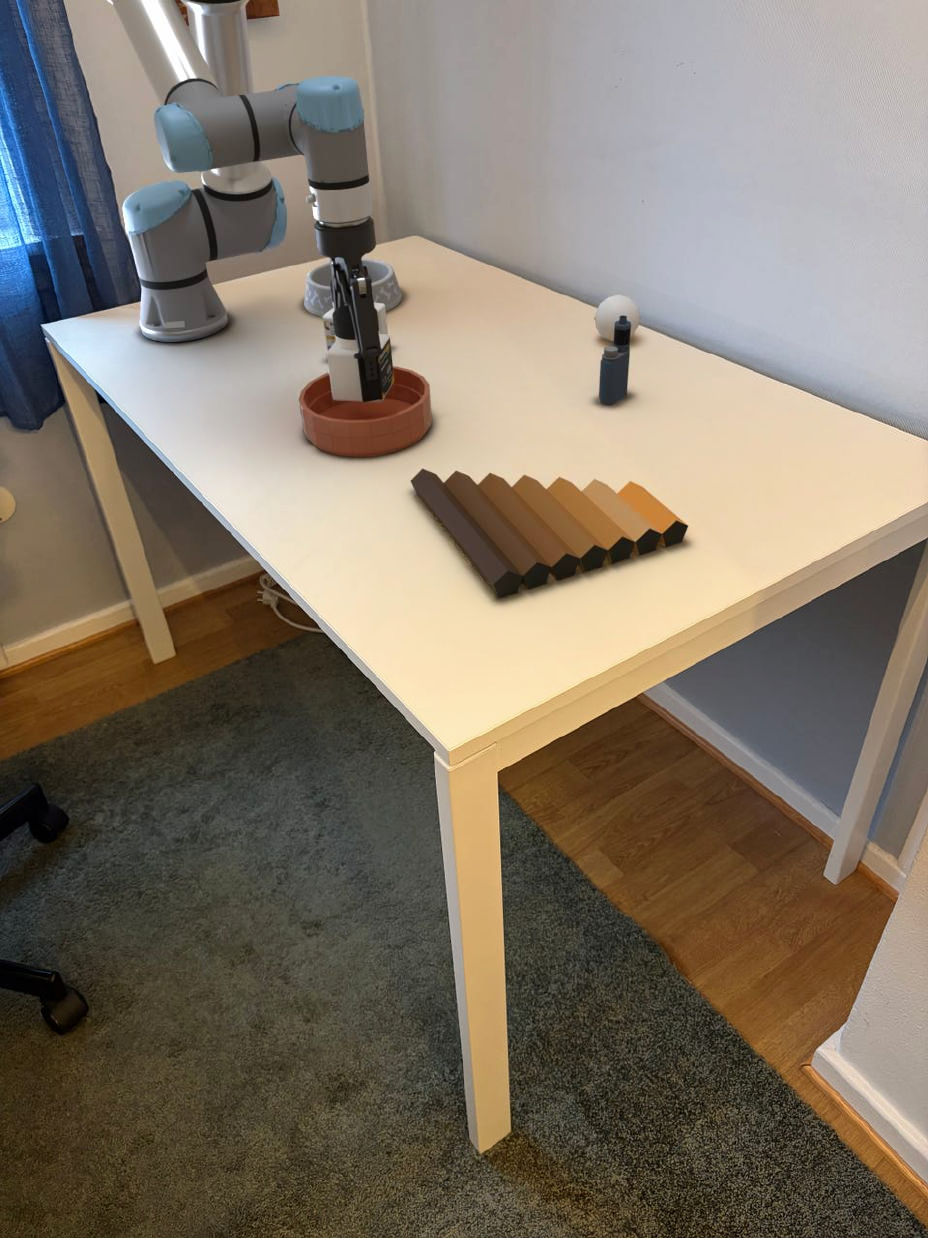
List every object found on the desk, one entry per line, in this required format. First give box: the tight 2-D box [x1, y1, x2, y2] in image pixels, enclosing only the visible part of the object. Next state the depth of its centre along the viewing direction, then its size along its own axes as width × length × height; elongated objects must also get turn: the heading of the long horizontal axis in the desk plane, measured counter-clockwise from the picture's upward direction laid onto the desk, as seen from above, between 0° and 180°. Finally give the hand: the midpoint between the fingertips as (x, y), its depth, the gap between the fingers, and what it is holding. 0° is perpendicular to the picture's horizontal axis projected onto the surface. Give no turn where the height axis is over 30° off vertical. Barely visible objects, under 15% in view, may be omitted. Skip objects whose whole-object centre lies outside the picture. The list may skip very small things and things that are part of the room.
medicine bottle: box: [326, 304, 394, 403], centre depth 131 cm, size 7×7×12 cm
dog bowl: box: [303, 257, 403, 318], centre depth 177 cm, size 17×18×5 cm
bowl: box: [297, 365, 433, 458], centre depth 136 cm, size 18×18×6 cm
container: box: [322, 280, 389, 353], centre depth 155 cm, size 8×8×13 cm
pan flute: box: [410, 468, 689, 599], centre depth 116 cm, size 25×3×25 cm
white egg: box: [593, 294, 641, 342], centre depth 157 cm, size 10×7×7 cm
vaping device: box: [598, 315, 631, 406], centre depth 138 cm, size 3×5×12 cm, turn 137°
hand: (363, 384), depth 134 cm, fingers closed on medicine bottle, 9 cm apart
